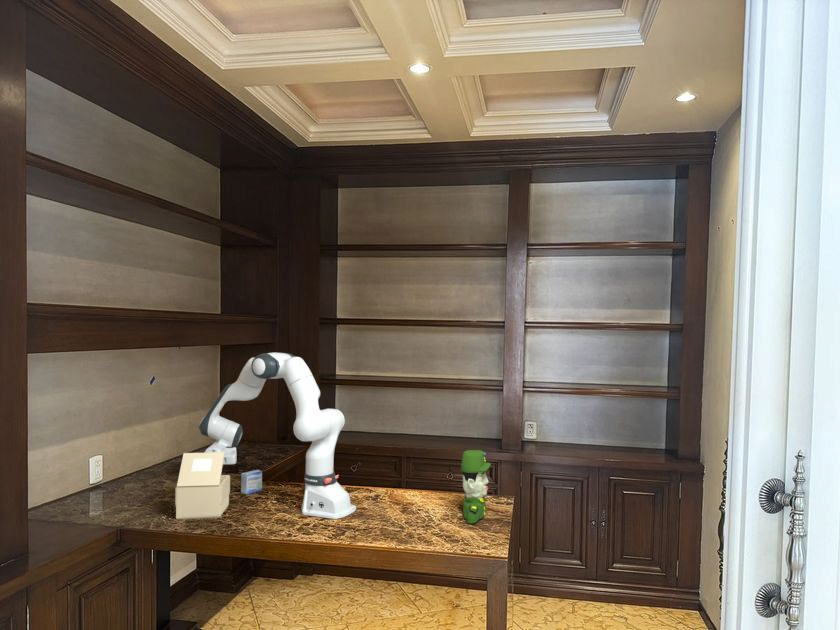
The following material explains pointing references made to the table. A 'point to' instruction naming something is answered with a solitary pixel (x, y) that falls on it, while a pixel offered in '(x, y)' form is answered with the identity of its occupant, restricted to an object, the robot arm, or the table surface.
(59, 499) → the table surface
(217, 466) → the carton flap
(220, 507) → the carton
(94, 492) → the table surface
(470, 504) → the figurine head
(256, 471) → the medicine box
